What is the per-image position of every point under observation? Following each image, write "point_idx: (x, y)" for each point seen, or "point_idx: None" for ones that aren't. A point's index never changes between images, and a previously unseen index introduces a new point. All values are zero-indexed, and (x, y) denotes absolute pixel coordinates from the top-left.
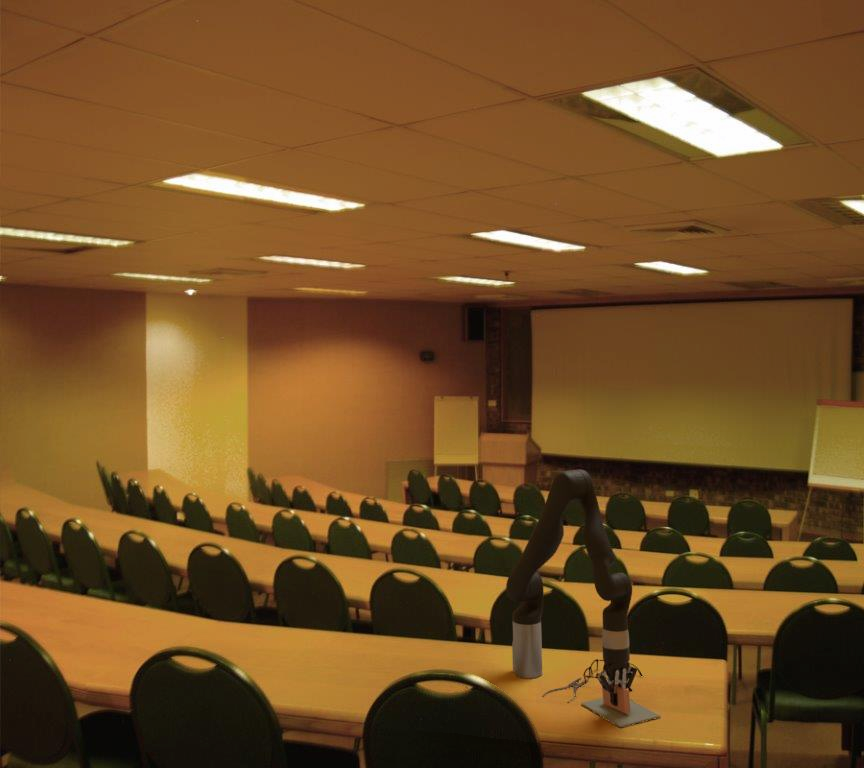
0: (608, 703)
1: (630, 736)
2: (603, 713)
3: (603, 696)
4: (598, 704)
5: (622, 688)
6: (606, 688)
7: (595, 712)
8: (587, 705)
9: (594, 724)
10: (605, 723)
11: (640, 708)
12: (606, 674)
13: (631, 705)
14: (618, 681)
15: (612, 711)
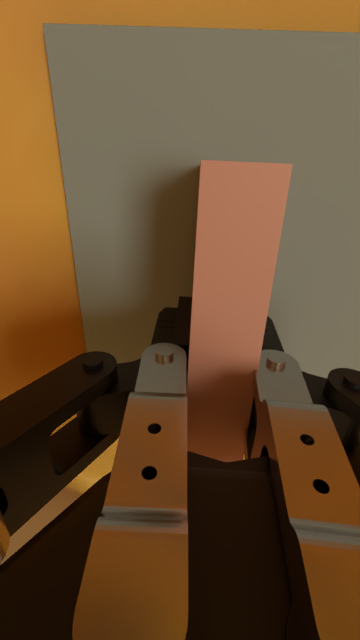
0: (195, 238)
1: (94, 472)
2: (101, 292)
3: (199, 174)
4: (161, 149)
5: (232, 450)
6: (50, 440)
7: (74, 238)
8: (68, 116)
9: (3, 339)
10: (62, 357)
11: (341, 349)
12: (26, 553)
13: (341, 292)
14: (256, 440)
15: (169, 298)
